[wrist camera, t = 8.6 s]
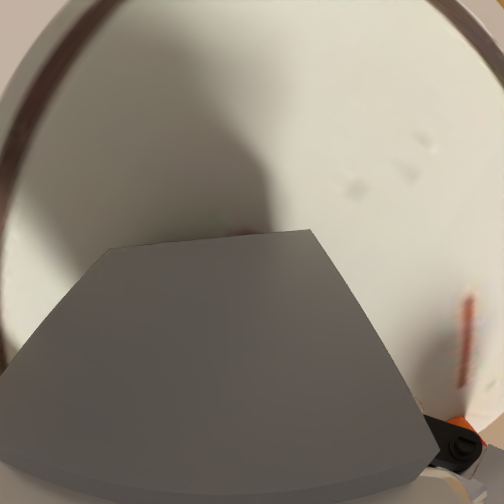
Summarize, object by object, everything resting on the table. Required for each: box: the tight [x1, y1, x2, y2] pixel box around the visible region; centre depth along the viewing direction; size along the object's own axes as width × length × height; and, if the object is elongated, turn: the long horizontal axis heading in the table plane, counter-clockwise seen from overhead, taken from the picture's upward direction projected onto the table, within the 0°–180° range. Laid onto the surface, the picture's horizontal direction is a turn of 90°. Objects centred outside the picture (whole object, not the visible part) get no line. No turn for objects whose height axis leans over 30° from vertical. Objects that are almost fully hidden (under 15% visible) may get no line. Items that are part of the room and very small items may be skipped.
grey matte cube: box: [0, 229, 440, 504], centre depth 8 cm, size 8×8×9 cm
